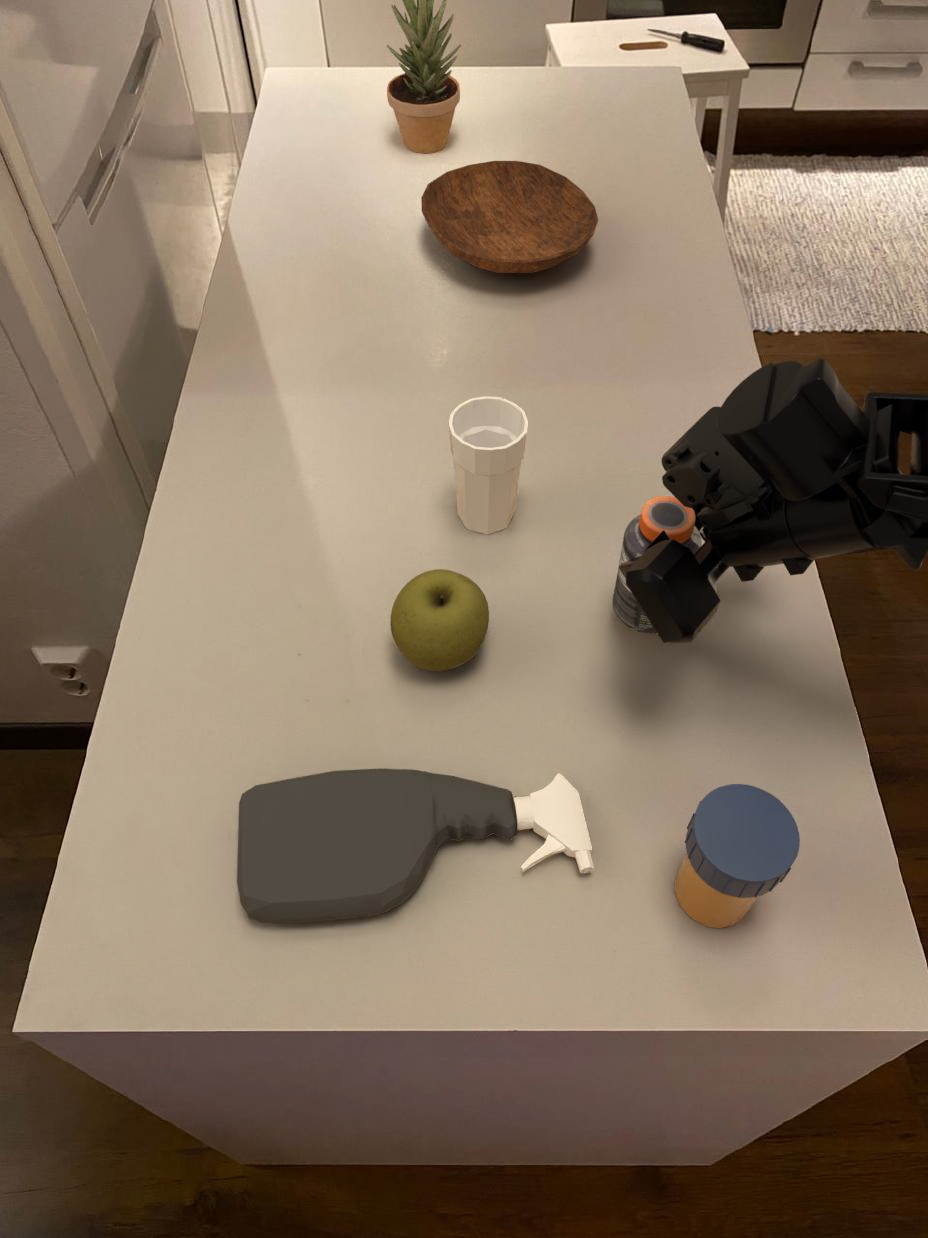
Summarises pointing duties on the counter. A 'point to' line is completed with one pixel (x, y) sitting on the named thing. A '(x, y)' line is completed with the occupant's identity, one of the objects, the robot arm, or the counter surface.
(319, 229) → the counter surface
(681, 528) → the pill bottle
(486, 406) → the cup
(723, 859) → the jar lid
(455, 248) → the bowl
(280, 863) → the spray bottle
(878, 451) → the robot arm
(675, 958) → the counter surface
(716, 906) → the jar
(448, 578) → the apple
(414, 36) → the potted plant
